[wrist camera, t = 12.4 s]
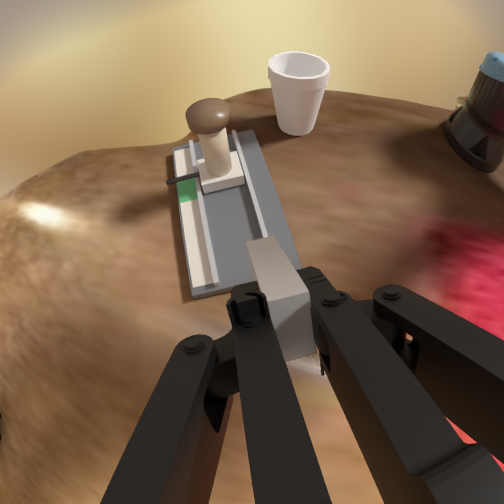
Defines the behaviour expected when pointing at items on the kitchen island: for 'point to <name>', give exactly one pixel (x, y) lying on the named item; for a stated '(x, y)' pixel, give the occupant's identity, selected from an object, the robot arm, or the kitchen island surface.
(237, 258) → the board
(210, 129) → the tuning slider
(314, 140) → the kitchen island surface
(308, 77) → the foam cup
